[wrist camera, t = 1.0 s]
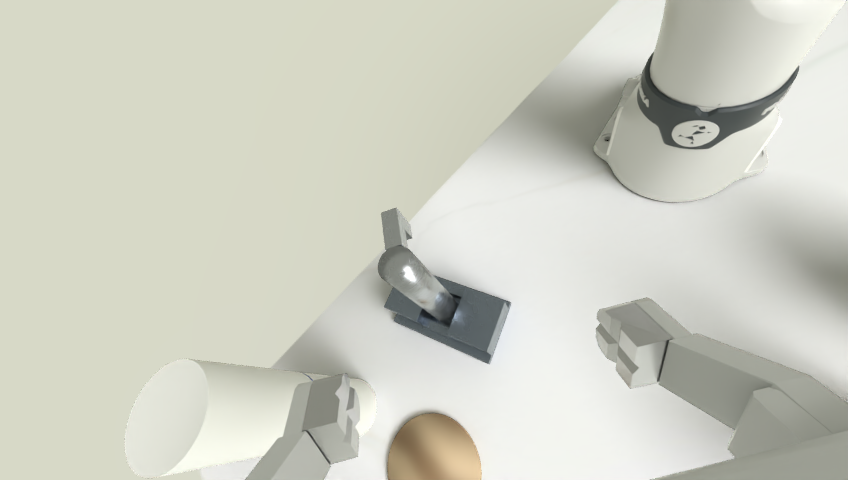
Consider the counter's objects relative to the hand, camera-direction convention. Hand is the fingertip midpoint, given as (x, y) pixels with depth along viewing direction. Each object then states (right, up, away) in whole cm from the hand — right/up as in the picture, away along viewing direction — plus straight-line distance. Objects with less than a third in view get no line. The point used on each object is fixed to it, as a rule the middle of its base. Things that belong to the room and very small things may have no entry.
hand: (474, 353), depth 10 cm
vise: (+2, -6, +34) cm, 35 cm away
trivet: (0, -23, +27) cm, 35 cm away
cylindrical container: (-11, -19, +33) cm, 40 cm away
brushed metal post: (+1, -4, +34) cm, 35 cm away
